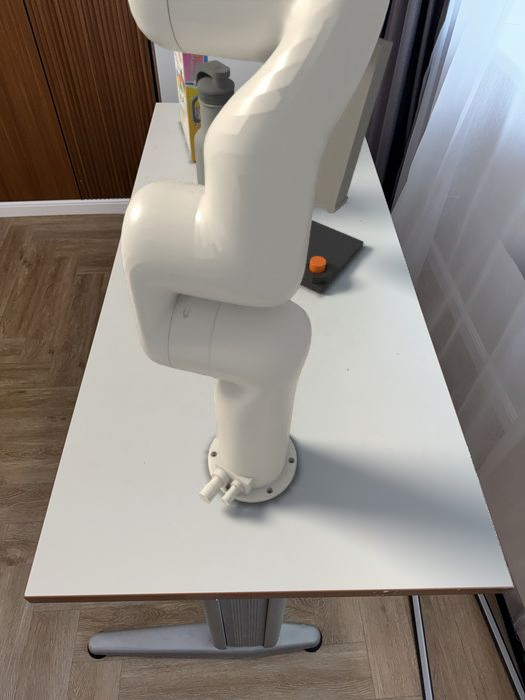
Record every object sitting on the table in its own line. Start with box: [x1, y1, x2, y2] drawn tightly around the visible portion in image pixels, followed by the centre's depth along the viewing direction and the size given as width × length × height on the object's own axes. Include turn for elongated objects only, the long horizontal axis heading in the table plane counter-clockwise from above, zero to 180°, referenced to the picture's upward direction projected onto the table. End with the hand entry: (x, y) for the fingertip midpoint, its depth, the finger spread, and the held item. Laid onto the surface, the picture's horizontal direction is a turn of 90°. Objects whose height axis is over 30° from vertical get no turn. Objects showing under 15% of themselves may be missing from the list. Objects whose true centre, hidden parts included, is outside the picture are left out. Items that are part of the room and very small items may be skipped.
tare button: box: [309, 256, 326, 273], centre depth 94 cm, size 3×3×2 cm
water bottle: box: [190, 59, 236, 185], centre depth 102 cm, size 10×10×28 cm
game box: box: [173, 51, 209, 162], centre depth 119 cm, size 21×6×27 cm, turn 13°
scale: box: [300, 219, 364, 295], centre depth 100 cm, size 17×16×3 cm
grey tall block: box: [314, 37, 394, 214], centre depth 80 cm, size 14×6×25 cm, turn 59°
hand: (338, 64), depth 75 cm, fingers closed on grey tall block, 4 cm apart
